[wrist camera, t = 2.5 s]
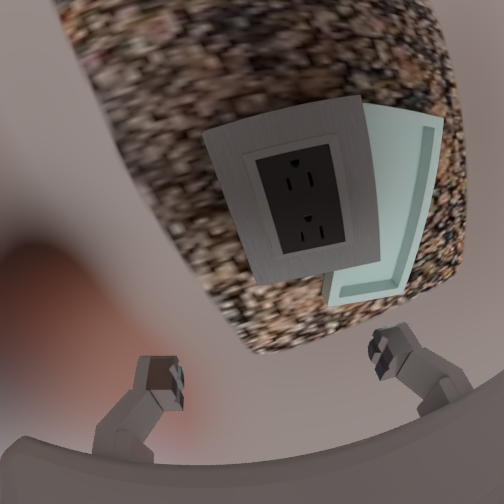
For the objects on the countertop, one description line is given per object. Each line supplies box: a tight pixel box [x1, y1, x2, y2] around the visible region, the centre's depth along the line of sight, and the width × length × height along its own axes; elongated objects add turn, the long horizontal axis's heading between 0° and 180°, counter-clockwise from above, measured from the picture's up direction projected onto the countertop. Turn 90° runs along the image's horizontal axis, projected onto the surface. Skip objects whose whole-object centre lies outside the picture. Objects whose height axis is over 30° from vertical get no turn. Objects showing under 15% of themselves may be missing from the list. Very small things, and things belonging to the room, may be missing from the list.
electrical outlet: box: [201, 95, 381, 286], centre depth 20 cm, size 13×10×2 cm
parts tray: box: [322, 102, 444, 307], centre depth 22 cm, size 18×9×2 cm, turn 2°
